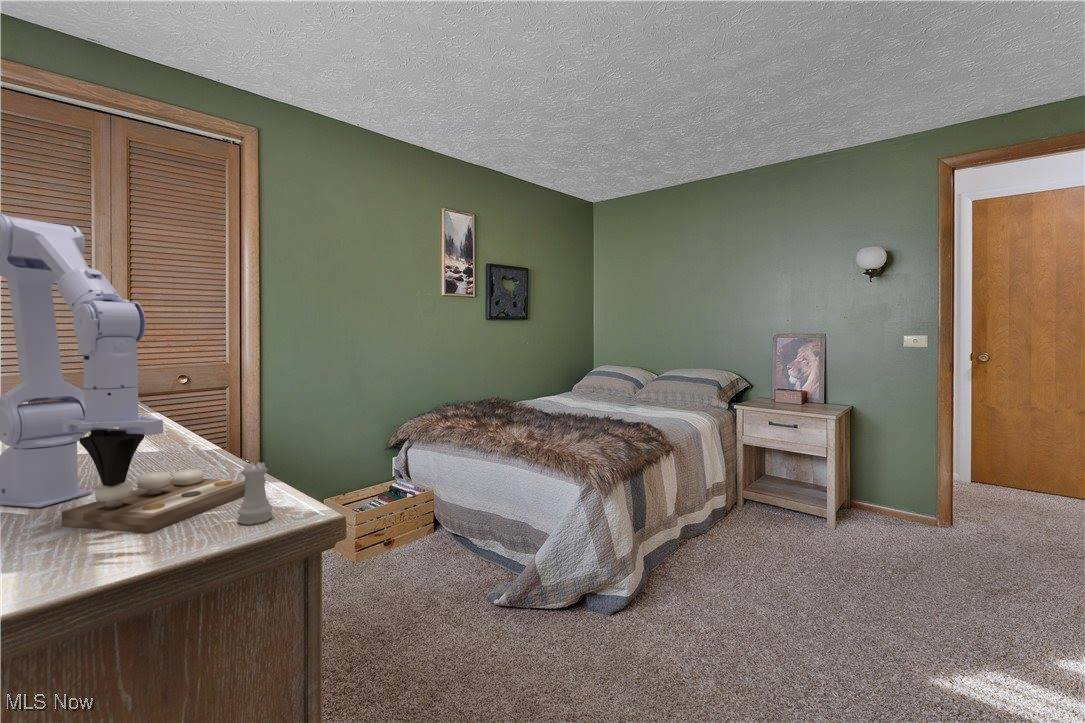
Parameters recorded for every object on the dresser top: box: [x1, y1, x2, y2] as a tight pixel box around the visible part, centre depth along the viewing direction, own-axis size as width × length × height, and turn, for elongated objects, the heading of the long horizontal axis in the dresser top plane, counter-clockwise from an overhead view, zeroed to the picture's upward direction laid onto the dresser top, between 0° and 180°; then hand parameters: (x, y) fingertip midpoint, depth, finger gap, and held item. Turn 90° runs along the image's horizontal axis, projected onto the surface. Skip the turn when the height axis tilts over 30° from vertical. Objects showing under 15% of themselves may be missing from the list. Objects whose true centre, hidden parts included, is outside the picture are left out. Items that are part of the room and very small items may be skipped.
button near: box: [94, 481, 134, 507], centre depth 71 cm, size 4×4×3 cm
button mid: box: [136, 470, 171, 495], centre depth 77 cm, size 4×4×3 cm
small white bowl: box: [172, 468, 204, 487], centre depth 83 cm, size 4×4×3 cm
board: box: [61, 478, 245, 534], centre depth 77 cm, size 14×18×2 cm
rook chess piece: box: [236, 461, 274, 526], centre depth 71 cm, size 4×4×8 cm
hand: (114, 484), depth 71 cm, fingers closed
